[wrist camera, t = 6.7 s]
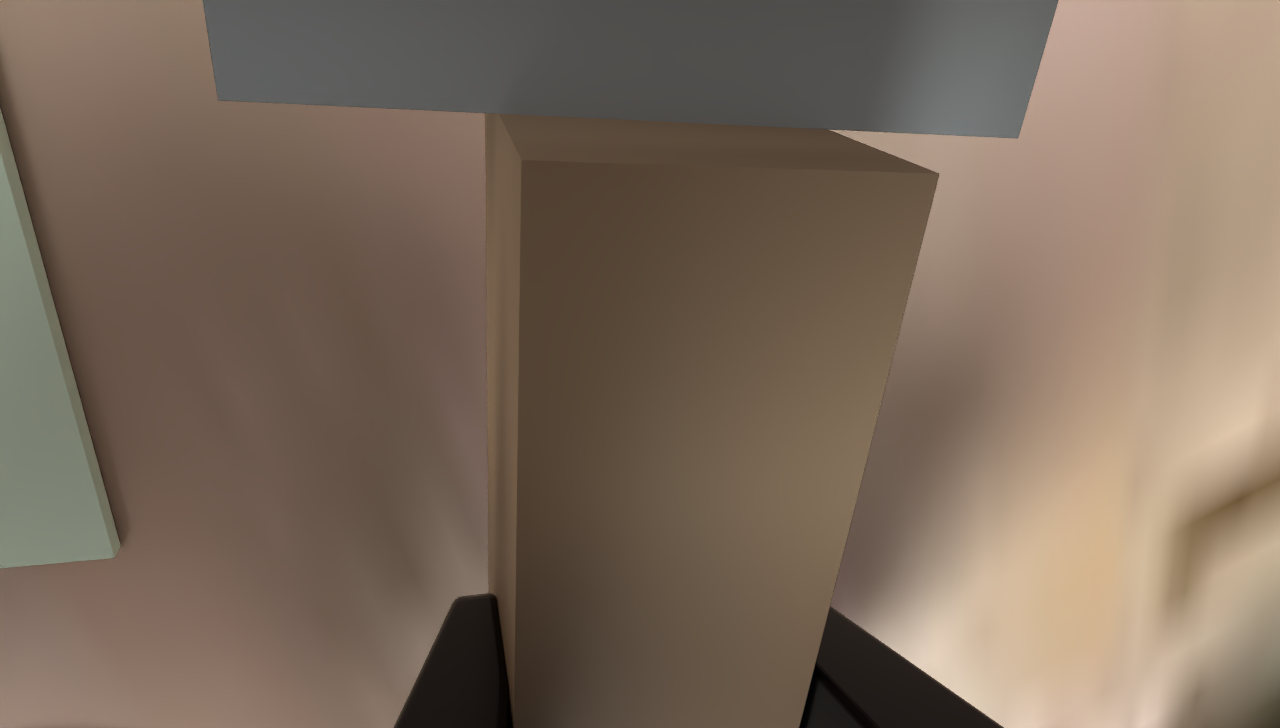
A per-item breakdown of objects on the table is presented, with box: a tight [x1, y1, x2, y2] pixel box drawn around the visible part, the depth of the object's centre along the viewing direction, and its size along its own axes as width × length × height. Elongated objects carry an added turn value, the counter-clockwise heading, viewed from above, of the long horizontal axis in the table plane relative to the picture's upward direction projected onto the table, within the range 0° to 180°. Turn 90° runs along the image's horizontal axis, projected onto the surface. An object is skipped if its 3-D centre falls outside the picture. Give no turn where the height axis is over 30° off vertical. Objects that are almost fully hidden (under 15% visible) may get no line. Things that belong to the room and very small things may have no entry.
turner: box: [203, 0, 1058, 728], centre depth 7 cm, size 15×6×3 cm, turn 175°
